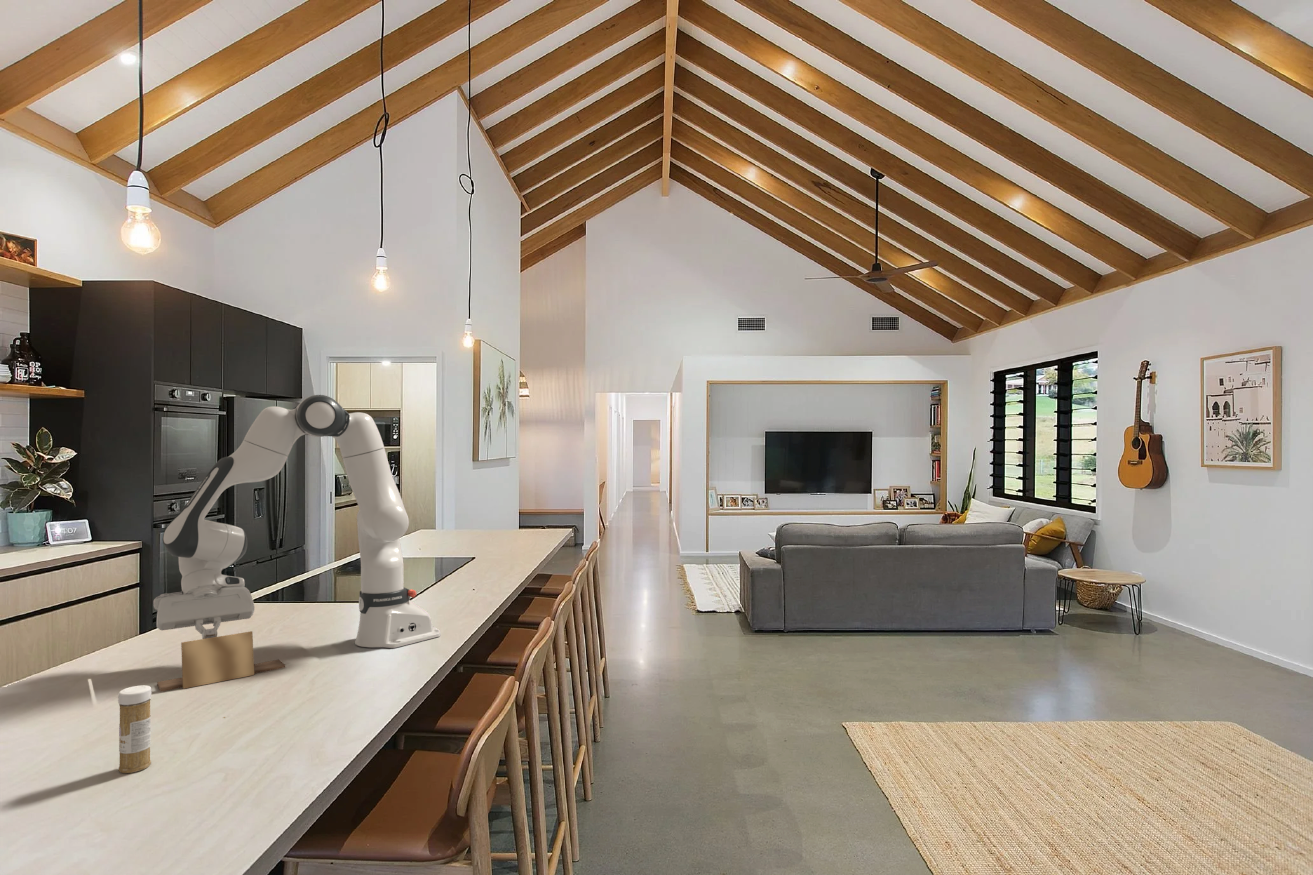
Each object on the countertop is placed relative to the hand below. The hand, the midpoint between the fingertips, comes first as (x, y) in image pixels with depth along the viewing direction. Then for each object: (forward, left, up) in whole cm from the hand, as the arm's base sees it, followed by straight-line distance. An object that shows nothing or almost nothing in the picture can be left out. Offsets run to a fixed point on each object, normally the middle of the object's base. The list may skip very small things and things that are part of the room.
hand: (210, 637), depth 172 cm
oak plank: (0, +9, -3) cm, 10 cm away
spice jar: (+19, +49, -9) cm, 53 cm away
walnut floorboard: (-2, +6, -9) cm, 11 cm away
